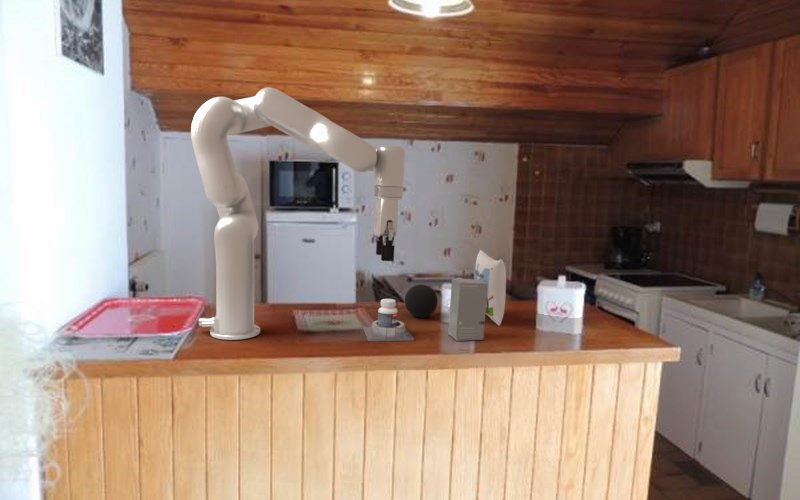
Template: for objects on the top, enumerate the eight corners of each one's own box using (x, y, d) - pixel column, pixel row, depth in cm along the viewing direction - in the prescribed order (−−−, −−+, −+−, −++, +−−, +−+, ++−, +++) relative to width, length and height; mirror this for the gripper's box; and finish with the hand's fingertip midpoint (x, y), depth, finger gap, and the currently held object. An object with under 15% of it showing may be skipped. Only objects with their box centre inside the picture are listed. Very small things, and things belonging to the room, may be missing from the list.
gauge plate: (368, 341, 147) (368, 329, 147) (363, 329, 158) (363, 318, 157) (413, 340, 149) (414, 329, 149) (405, 328, 160) (406, 318, 160)
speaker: (439, 314, 177) (441, 283, 176) (433, 322, 167) (434, 289, 166) (408, 311, 179) (409, 280, 178) (400, 319, 170) (401, 286, 168)
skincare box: (456, 341, 150) (459, 282, 148) (446, 333, 157) (449, 277, 154) (485, 340, 152) (489, 282, 150) (475, 332, 159) (478, 277, 157)
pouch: (491, 310, 186) (495, 249, 183) (509, 326, 167) (514, 259, 164) (467, 310, 185) (471, 249, 182) (483, 326, 166) (487, 258, 163)
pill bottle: (394, 336, 150) (395, 303, 149) (375, 334, 152) (376, 301, 150) (398, 330, 155) (400, 299, 154) (380, 328, 157) (381, 297, 155)
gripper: (370, 190, 156) (366, 252, 159) (378, 194, 140) (374, 262, 142) (396, 192, 158) (393, 253, 160) (408, 195, 141) (404, 263, 143)
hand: (384, 257), depth 151 cm, fingers open, 9 cm apart
